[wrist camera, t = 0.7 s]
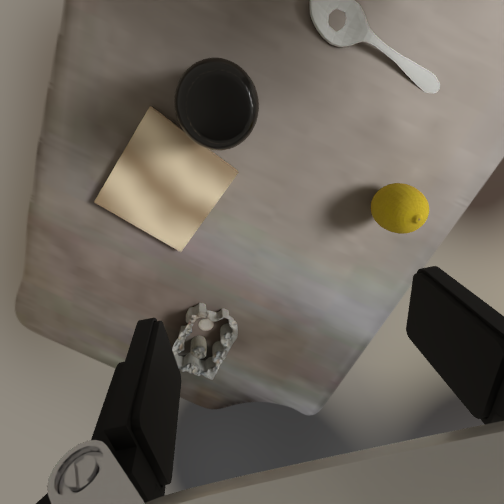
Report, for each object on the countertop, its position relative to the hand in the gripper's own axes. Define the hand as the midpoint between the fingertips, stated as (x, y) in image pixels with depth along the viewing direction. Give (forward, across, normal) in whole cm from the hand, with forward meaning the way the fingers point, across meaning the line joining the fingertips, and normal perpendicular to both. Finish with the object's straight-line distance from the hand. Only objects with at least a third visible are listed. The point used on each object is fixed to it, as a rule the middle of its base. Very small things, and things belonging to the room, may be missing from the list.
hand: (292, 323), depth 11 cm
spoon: (+28, -18, -9) cm, 34 cm away
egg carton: (+27, +8, +23) cm, 36 cm away
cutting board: (+27, +8, 0) cm, 28 cm away
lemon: (+28, -18, +7) cm, 33 cm away
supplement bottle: (+27, +1, -7) cm, 28 cm away
